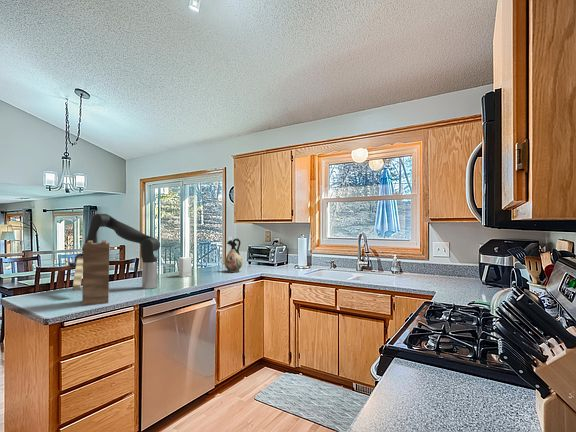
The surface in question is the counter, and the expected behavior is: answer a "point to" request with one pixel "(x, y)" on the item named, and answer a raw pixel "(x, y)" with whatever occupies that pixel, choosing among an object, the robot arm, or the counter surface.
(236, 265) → the ceramic jug
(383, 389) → the counter surface
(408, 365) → the counter surface
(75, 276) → the beech bar
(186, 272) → the skincare box
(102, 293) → the walnut stand
